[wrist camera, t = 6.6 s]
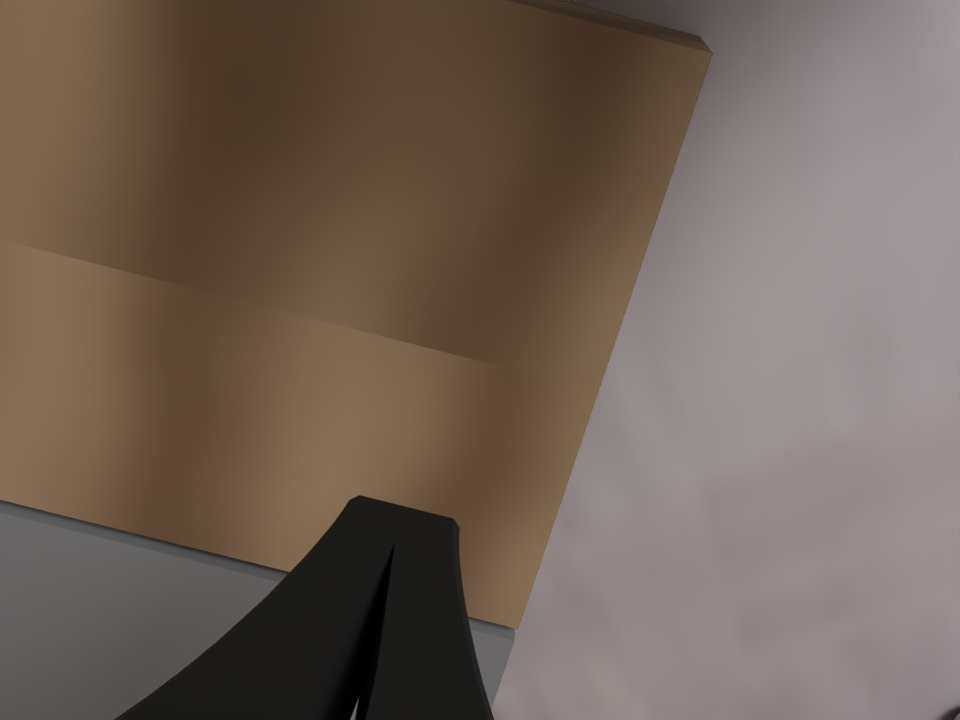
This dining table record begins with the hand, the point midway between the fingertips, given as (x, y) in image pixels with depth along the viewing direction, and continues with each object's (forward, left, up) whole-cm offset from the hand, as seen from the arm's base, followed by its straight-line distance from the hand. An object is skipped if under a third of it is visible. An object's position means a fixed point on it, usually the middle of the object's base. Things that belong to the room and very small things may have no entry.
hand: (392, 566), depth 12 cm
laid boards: (+5, +1, -9) cm, 11 cm away
